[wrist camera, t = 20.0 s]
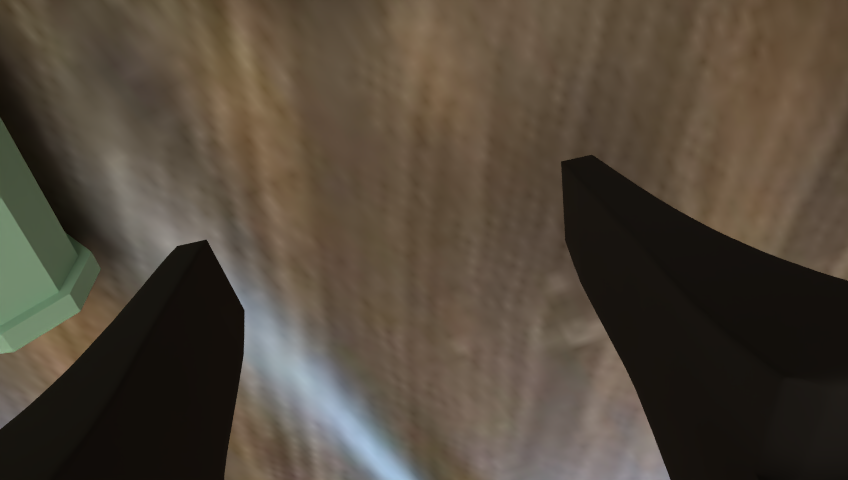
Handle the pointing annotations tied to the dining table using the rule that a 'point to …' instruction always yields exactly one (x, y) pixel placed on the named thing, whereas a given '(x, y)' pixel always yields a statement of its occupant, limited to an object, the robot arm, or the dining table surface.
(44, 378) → the dining table surface
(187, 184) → the dining table surface
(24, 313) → the green octagonal rod
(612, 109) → the dining table surface
